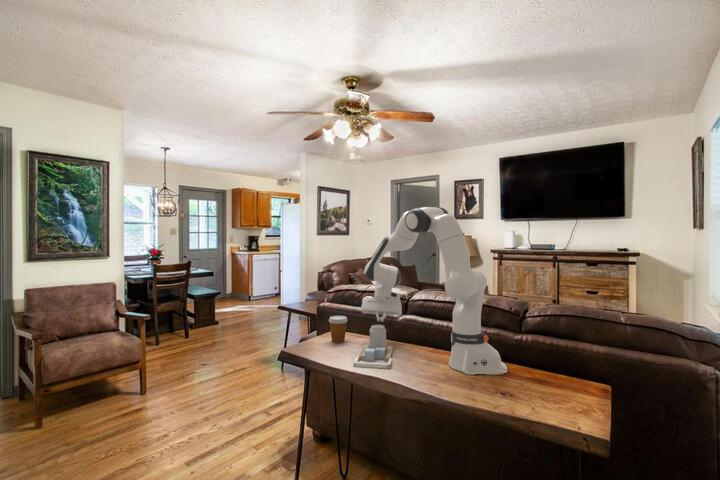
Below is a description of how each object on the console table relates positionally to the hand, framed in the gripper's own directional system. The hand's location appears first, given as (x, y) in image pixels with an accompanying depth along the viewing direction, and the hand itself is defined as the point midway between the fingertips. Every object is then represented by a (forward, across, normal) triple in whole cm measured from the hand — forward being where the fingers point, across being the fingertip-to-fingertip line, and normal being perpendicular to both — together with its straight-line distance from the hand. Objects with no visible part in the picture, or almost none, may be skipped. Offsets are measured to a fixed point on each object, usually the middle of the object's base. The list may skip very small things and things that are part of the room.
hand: (380, 321), depth 175 cm
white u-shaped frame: (+26, 0, -10) cm, 28 cm away
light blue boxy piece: (+20, +2, -4) cm, 21 cm away
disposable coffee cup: (+7, -22, +10) cm, 25 cm away
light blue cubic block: (+22, -2, -6) cm, 23 cm away
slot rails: (+18, 0, -2) cm, 18 cm away
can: (+16, 0, +1) cm, 16 cm away
